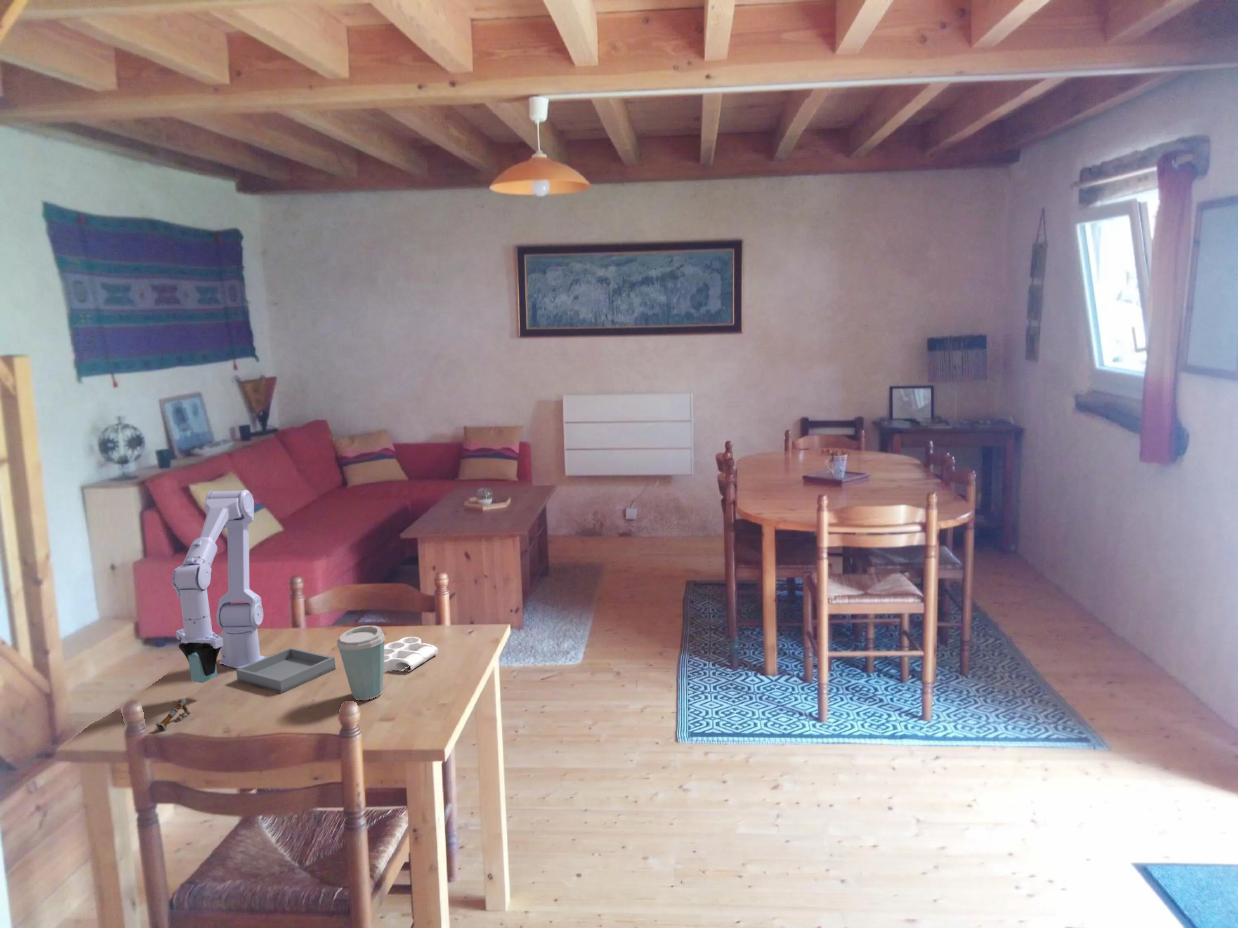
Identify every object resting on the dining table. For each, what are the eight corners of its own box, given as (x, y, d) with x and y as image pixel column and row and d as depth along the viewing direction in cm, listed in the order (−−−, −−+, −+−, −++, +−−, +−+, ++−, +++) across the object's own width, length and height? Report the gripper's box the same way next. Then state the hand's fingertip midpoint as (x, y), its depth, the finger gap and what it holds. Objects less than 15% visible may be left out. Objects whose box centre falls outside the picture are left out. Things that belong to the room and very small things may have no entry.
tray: (237, 681, 222) (236, 669, 221) (292, 658, 235) (290, 647, 234) (281, 693, 213) (280, 680, 213) (335, 668, 227) (334, 657, 226)
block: (191, 679, 212) (188, 655, 211) (206, 673, 216) (203, 649, 215) (202, 683, 210) (198, 658, 209) (217, 676, 213) (214, 652, 212)
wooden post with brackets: (195, 710, 204) (186, 695, 202) (170, 738, 198) (161, 724, 196) (189, 709, 205) (180, 695, 202) (164, 737, 199) (155, 723, 196)
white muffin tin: (403, 679, 219) (353, 672, 225) (445, 652, 236) (397, 646, 241) (402, 666, 219) (352, 659, 224) (444, 639, 235) (396, 634, 241)
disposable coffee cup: (372, 707, 203) (366, 642, 201) (331, 702, 207) (325, 638, 205) (399, 688, 213) (394, 626, 211) (360, 683, 217) (354, 622, 214)
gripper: (160, 617, 211) (168, 673, 213) (200, 626, 203) (207, 684, 205) (189, 607, 217) (196, 662, 219) (228, 616, 209) (235, 672, 211)
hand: (203, 672), depth 213 cm, fingers closed on block, 4 cm apart
